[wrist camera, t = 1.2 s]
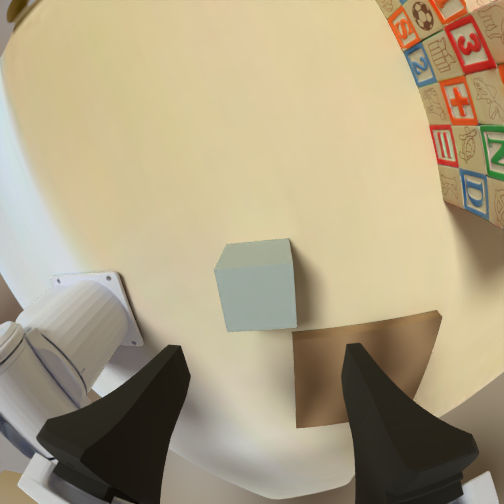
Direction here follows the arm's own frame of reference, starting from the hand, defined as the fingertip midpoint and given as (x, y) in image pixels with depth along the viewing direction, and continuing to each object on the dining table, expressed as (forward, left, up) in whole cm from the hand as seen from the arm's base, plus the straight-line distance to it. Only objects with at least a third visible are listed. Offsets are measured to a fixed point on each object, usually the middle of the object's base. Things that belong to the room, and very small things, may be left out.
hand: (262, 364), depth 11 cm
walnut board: (+8, -13, -10) cm, 18 cm away
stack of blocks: (+15, +15, -10) cm, 24 cm away
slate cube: (-1, 0, -10) cm, 10 cm away
